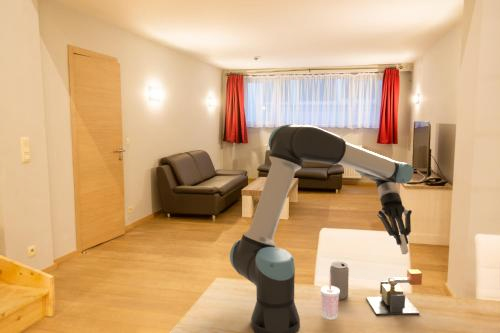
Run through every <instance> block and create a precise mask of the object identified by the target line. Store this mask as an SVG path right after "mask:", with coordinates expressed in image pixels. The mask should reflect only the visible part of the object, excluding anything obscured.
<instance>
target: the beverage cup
mask: <svg viewBox="0 0 500 333" xmlns="http://www.w3.org/2000/svg"><path fill="white" fill-rule="evenodd" d="M320 293H321V308H322V309H321V310H322V317H323V318H324V319H326V320H330V321H331V320H336V319H337V318H338V309H339V294H340V290H339V288H337V287H335V286H331V275H330V274H329V285H323V286H322V287H321V288H320Z"/></svg>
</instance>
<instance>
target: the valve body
mask: <svg viewBox="0 0 500 333" xmlns="http://www.w3.org/2000/svg"><path fill="white" fill-rule="evenodd" d="M379 286H380V287H379V289H380V290H379V294H380V295H381V296H365V299H366V301H367V303H368V305H369V307H370V309H371V310H372V312H373V313H374V314H375V316H376V317H383V316H384V317H385V316H386V317H387V316H388V317H389V316H391V317H394V316H420V313H421V312H420V311H419V310H418V309H417V308H416V306H415V305H414V304H413V303H412V302H411V301H410V300H409V299H408V297H407V296H406V295H405V294H404V290H403V289H402V288H401V287H400V285H399V283H397V285H396V286H391V285H389V284H388V280H385V281H384V280H383V281H382V280H381V281H380V284H379Z"/></svg>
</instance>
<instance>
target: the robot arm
mask: <svg viewBox="0 0 500 333" xmlns="http://www.w3.org/2000/svg"><path fill="white" fill-rule="evenodd" d="M268 147H269V151H270V154H269V157H268V158H269V161H270V163H271V164H270V167H269V171H268V173H267V176H266V180H265V181H264V186H263V188H262V191H261V194H260V198H259V200H258V203H257V206H256V209H255V212H254V213H253V214H254V215H253V218H252V221H251V223H250V226H249V230H248V229H247V231H245V232H244V233H242V236H241V238H240V239H238V240H237V241H236V242H235V243H233V245H232V247H231V249H230V252H229V262H230V264H231V266H232V268H233V269H234V270H235V271H236V272H237V274H239V275H240V276H241V277H244V278H245V279H247V280H248V281H249V282H250V283H252V284H253V285H255V286H256V288H255V289H256V302H255V305H254V308H253V311H252V314H251V318H250V319H251V320H250V324H251V326H250V327H251V328H252V330H253V332H254V333H298V332H299V330H300V328H301V327H300V326H301V319H300V315H299V312H298V309H297V307H296V306H297V305H296V303H295V277H296V276H295V274H296V273H295V272H296V267H295V260H294V257H293V255H292V253H291V252H289V251H288V250H287V249H284V248H280V247H279V248H278V247H276V245H277V244H276V243H275V240H274V236H275V233H276V231H277V228H278V225H279V222H280V219H281V216H282V212H283V210H284V207H285V204H286V201H287V198H288V195H289V193H290V189H291V185H292V184H293V180H294V178H295V174H296V172H297V171H299V170H301V169H302V167H303V165H304V162H308V163H309V162H310V163H311V162H312V163H319V164H320V163H322V164H327V165H331V166H337V165H340V166H344V167H346V168H349V169H353V170H354V171H355V172H356V173H358V174H359V175H362V176H364V177H365V178H367V179H369V180H371V181H372V182H374V183H375V185H376V187H377V188H376V189H377V192H378V197H379V198H380V200H379V201H380V205H381V207H382V209H381V210H379V211H377V214H376V215H377V218H379V219H380V220H381V223H382V225H383V226H384V228H385V230H386V232H387V233H388V235H389V237H392V236H393V238H394V239H395V243H396V246H397V245H398V246H399V248H400V252H401V255H407V254H408V253H409V247H408V244H409V238H408V236H409V235H410V233H412V228H411V227H412V224H411V215H412V213H413V211H412V210H410V209H408V210H407V209H406V208H405V206H404V205H403V201H402V198H401V195H400V191H399V188H398V185H397V184H405V185H406V184H408V183H409V184H410V182H411V181H412V179H413V178H414V177H413V176H414V167H413V166H412V164H410V163H407V162H403V161H402V162H401V161H396V160H393V159H391V158H389V157H386V156H384V155H380V154H379V153H375V152H373V151H369V150H367V149H364V148H363V147H360V146H356V145H354V144H352V143H349V142H347V141H346V140H345V139H344V138H343V137H341V136H339V135H337V134H336V133H332V132H329V131H327V130H324V129H322V128H320V127H317V126H314V125H304V124H303V125H302V124H301V125H298V124H292V123H291V124H290V123H289V124H288V123H287V124H282V125H280V126H278V127H276V128H275V129H273V131H272V132H271V133H270V136H269V138H268ZM403 215H404V216H405V217H404V220H403Z"/></svg>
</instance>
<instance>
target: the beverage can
mask: <svg viewBox="0 0 500 333" xmlns="http://www.w3.org/2000/svg"><path fill="white" fill-rule="evenodd" d="M349 268H350V267H349V266H348V264H347V263H346V262H343V261H333V262H332V263H331V265H330V268H329V276H330V275H331V286H335V287H337V288H339V290H340V294H339V299H338V301H339V300H341V301H342V300H345V299H346V298H348V296H349V277H350V276H349V271H350V269H349Z"/></svg>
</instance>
